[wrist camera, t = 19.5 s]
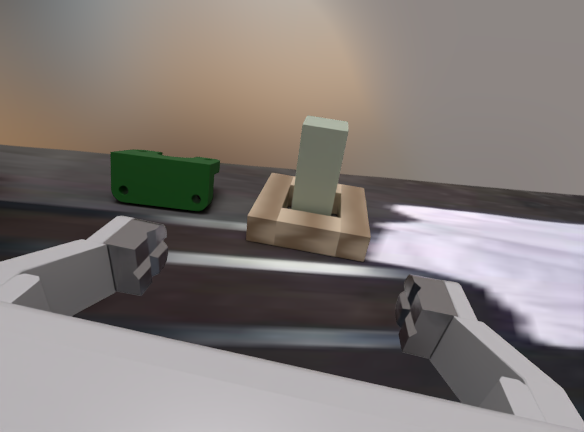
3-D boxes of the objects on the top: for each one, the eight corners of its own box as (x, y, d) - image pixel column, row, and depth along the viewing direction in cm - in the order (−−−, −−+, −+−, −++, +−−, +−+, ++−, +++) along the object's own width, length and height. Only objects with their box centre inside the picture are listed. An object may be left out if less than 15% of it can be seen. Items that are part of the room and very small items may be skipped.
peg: (288, 228, 37) (302, 124, 31) (294, 210, 41) (307, 115, 35) (326, 235, 37) (348, 131, 31) (328, 216, 41) (347, 121, 35)
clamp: (203, 224, 44) (234, 166, 42) (189, 238, 38) (224, 172, 36) (122, 180, 42) (150, 118, 40) (95, 187, 36) (125, 116, 34)
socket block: (246, 240, 34) (247, 215, 32) (270, 192, 45) (272, 172, 43) (363, 261, 33) (370, 237, 31) (358, 208, 44) (363, 188, 42)
